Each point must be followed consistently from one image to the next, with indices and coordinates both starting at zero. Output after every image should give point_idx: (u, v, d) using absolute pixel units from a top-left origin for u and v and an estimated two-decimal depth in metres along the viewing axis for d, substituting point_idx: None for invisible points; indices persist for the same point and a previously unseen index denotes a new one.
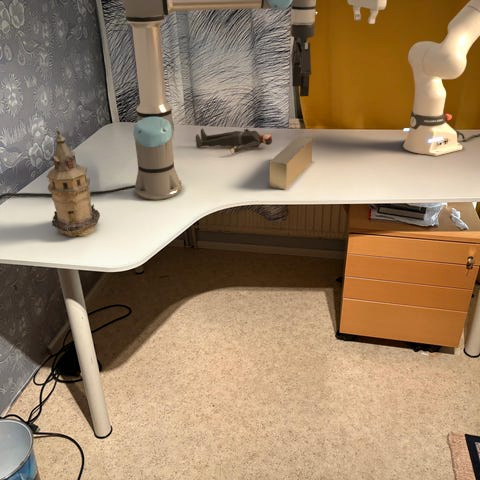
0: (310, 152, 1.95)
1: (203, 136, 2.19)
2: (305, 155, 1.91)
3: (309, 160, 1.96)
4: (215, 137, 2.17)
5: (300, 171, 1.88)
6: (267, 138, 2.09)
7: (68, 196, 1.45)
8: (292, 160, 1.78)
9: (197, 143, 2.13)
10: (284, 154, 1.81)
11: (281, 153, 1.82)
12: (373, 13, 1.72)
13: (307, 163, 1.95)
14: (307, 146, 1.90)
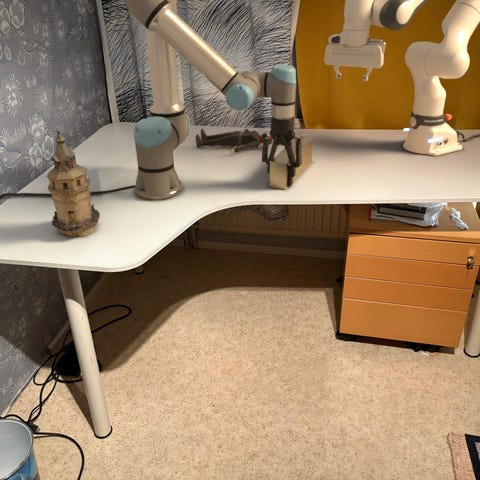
0: (310, 152, 1.95)
1: (203, 136, 2.19)
2: (305, 155, 1.91)
3: (309, 160, 1.96)
4: (215, 137, 2.17)
5: (300, 171, 1.88)
6: None
7: (68, 196, 1.45)
8: None
9: (197, 143, 2.13)
10: (284, 154, 1.81)
11: (281, 153, 1.82)
12: (370, 71, 1.84)
13: (307, 163, 1.95)
14: (307, 146, 1.90)
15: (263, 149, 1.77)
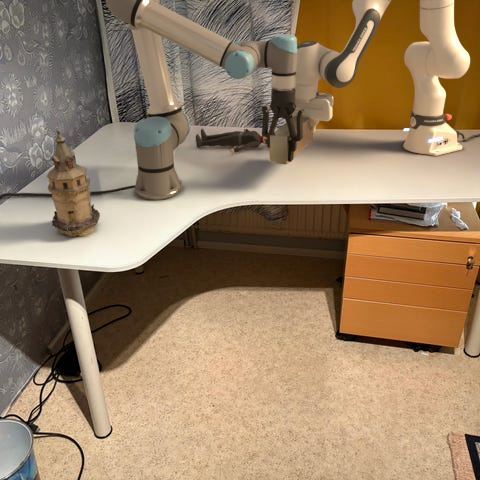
0: None
1: (203, 136, 2.19)
2: (306, 131, 1.86)
3: (310, 137, 1.92)
4: (215, 137, 2.17)
5: (301, 146, 1.84)
6: None
7: (68, 196, 1.45)
8: None
9: (197, 143, 2.13)
10: (285, 128, 1.76)
11: (282, 127, 1.77)
12: (317, 123, 1.88)
13: (308, 140, 1.90)
14: (308, 122, 1.86)
15: (263, 123, 1.72)
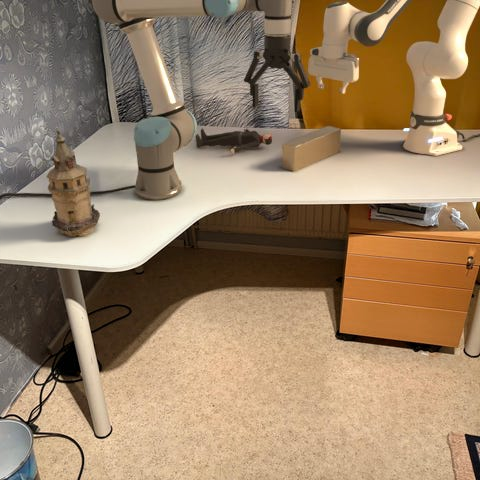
0: (335, 142, 2.04)
1: (203, 136, 2.19)
2: (327, 143, 2.01)
3: (335, 149, 2.06)
4: (215, 137, 2.17)
5: (318, 157, 2.00)
6: (267, 138, 2.09)
7: (68, 196, 1.45)
8: (304, 145, 1.91)
9: (197, 143, 2.13)
10: (301, 139, 1.94)
11: (299, 138, 1.95)
12: (346, 84, 1.90)
13: (331, 152, 2.04)
14: (331, 135, 2.00)
15: (250, 68, 1.59)
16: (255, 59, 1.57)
